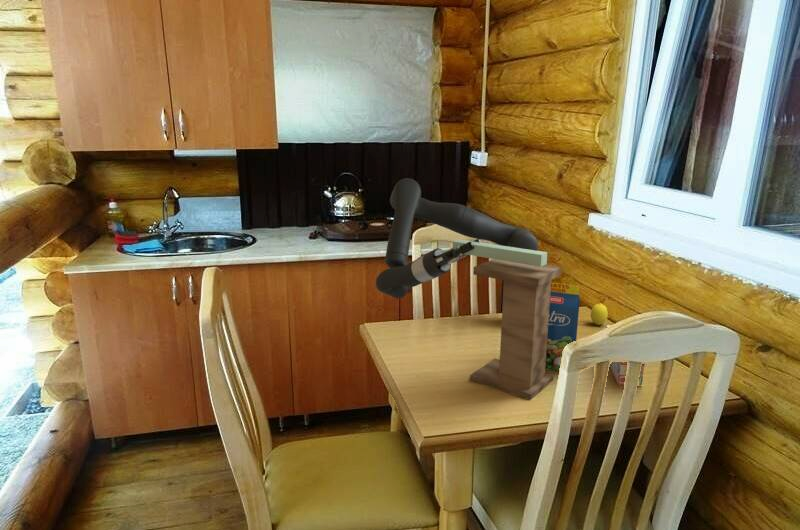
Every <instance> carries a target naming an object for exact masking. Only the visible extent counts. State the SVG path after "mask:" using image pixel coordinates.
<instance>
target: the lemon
mask: <svg viewBox="0 0 800 530" xmlns="http://www.w3.org/2000/svg"><path fill="white" fill-rule="evenodd" d="M608 315H609V313H608V308H607V307H606V306H605V305H604V304H602V303H601V302H600V303H597V304H595V305H593V306H592V308H591V310H590V318H591V321H592V322H593V323H594V324H595V325H597V326H600V325H602V324H604V323H605V322H606V321H607V320H608Z"/></svg>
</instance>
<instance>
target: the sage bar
mask: <svg viewBox="0 0 800 530" xmlns="http://www.w3.org/2000/svg"><path fill="white" fill-rule="evenodd" d="M470 241H471V242H472V243H473V245H474V249H473V250H470V251H468V252H466V253H464V254H467V255H466V256H475V257H480V258H485V259H491V260H493V259H497V260H503V261H509V262H515V263H521V264H527V265H533V266H539V267H541V266H543V265H545V264H546V265H548V252H547V251H540V250H538V251H535V250H528V249H522V248H515V247H508V246H501V245H498V244H496V243H486V242H482V241H481V242H474V240H467V239H460V238H459V239H456V240H453V241H452V247H451V248H454V249H455V248H456V247H459V246H462V245H464V244H466V243H468V242H470Z"/></svg>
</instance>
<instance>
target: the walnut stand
mask: <svg viewBox="0 0 800 530" xmlns="http://www.w3.org/2000/svg"><path fill="white" fill-rule="evenodd" d="M562 270H563V269H562V266H557V265H550V264H545V265H543V266H541V267H539V266H533V265H527V264H521V263H515V262H509V261H503V260H497V259H491V260H488V261H486V262H483V263H480V264H477V265H475V266H473V272H472V274H473V275H474V276H481V277H484V278H491V279H495V280H501V281H503V289H502V304H501V305H502V306H501V307H502V308H501V309H502V310H501V311H502V312H501V327H500V329H501V331H500V348H499V352H500V353H499V359H498V358H493V359H492V360H491V361H489V362H487V363H486V364H484V365H483V366H481V367H479V368H478V369H477V370H475V371H474V372H472V373H471V374H469V381H471V382H474V383H477V384H480V385H483V386H486V387H489V388H493V389H496V390H499V391H502V392H505V393H508V394H511V395H515V396H518V397H521V398H523V397H524V399H526V398H527V400H530V401H531V400H533V399H534V398H535V397H536V396H537V395H538V394H539V393H540V392H542V391H543V390H544V389H545V388H546V387H547V386H548V385H550V384H551V383H552V382H553V381H554V375H553V374H550V373H547V372H546V369H545V363H546V349H547V335H548V321H549V307H550V293H551V282H552V281H553V280H554V279H555V278H558V277H559V276H561V275H562ZM549 383H550V384H549Z"/></svg>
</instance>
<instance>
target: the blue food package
mask: <svg viewBox="0 0 800 530" xmlns="http://www.w3.org/2000/svg"><path fill="white" fill-rule="evenodd" d="M580 289H581V285H577V284H569V283H568V284H567V283H559V282H553V281H551V293H550V307H549V321H548V335H547V349H546V363H545V370H548V371H553V372H559V368H560V364H561V357H562V351H563V349H564V347H565V346H566V345H567V344H569V343H571V342H573V341H576V342H577V334H578V324H579V323H578V322H579V314H580V313H579V312H580Z"/></svg>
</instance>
